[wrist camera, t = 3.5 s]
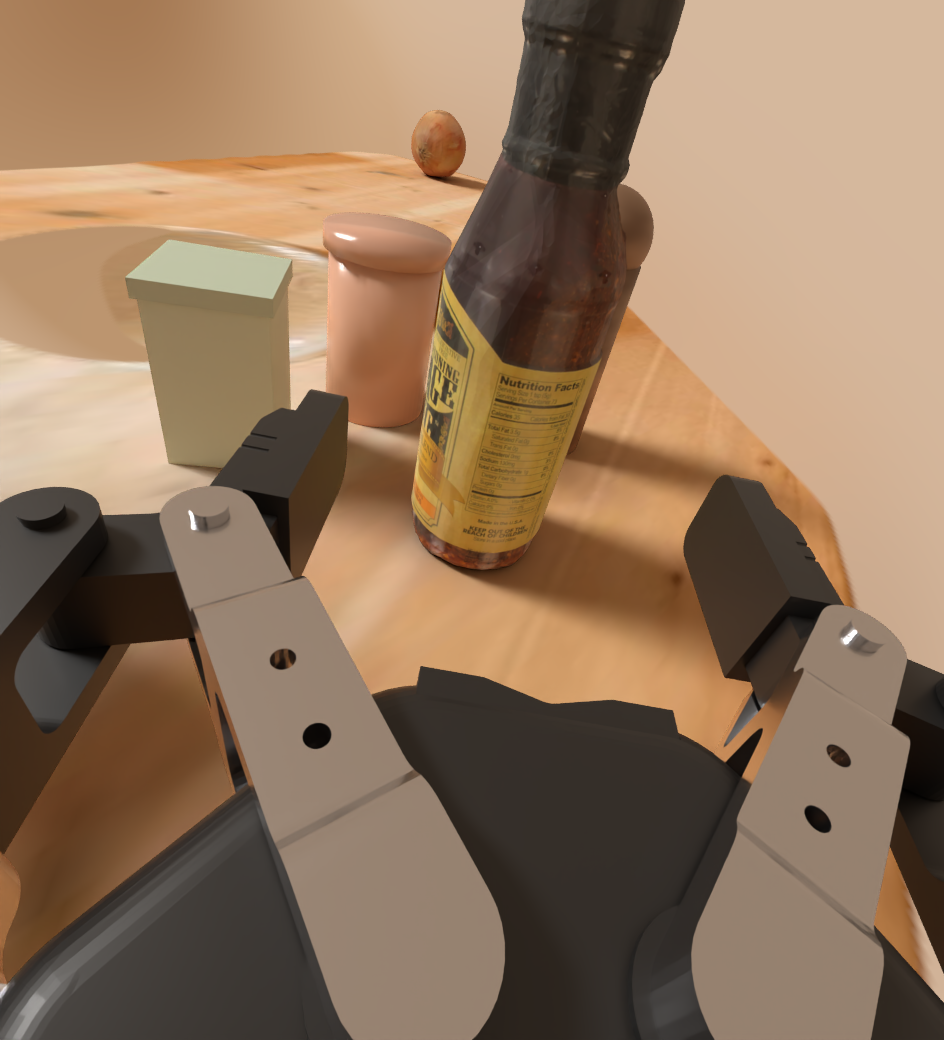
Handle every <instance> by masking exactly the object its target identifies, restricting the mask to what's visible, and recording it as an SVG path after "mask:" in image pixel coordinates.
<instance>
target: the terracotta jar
mask: <svg viewBox="0 0 944 1040" xmlns="http://www.w3.org/2000/svg"><path fill="white" fill-rule="evenodd" d="M323 245H324V246H325V248H326V249H327V250H328V251H329V266H328V314H327V361H326V392H327V393H332V394H337V395H342V396H347V397H348V402H349V413H348V421H350V422H353V423H356V424H359V425H364V426H370V427H383V428H385V427H397V426H402V425H405V424H408V423H410V422H412V421H414V420H415V419H417V418H418V417H419V415H420V414H421V411H422V404H423V397H424V390H425V383H426V377H427V370H428V363H429V356H430V349H431V342H432V335H433V328H434V321H435V314H436V307H437V300H438V293H439V287H440V280H441V273H442V270H443V269H445V264H446V262H447V260H448V258H449V256H450V250H451V240H450V239H449V238H448V237H447V236H446V235H444V234H443V233H441V232H439V231H437V230H435V229H433V228H430V227H428V226H425V225H422V224H419V223H416V222H413V221H409V220H405V219H401V218H396V217H391V216H385V215H379V214H371V213H356V212H348V213H337V214H332V215H329V216H327V217H325V218H324V220H323Z"/></svg>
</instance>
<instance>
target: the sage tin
mask: <svg viewBox="0 0 944 1040" xmlns="http://www.w3.org/2000/svg"><path fill="white" fill-rule="evenodd" d="M291 279H292V259H286V258H280V257H274V256H268V255H262V254H255V253H249V252H243V251H237V250H231V249H225V248H218V247H212V246H206V245H200V244H194V243H187V242H181V241H175V240H168V241H167V242H166V243H164V244H163V245H162V246H161V247H160V248H159V249H157V250H156V251H155V252H154V253H153V254H152V255H150V256H149V257H148V258H147V259H146V260H145V261H143V262H142V263H141V264H140V265H139V266H138V267H136V268H135V269H134V270H133V271H132V272H131V273H129V274H128V275H127V276H126V277H125V280H126V285H127V290H128V295H129V298H131V299H137V302H138V307H139V312H140V317H141V322H142V327H143V333H144V338H145V343H146V348H147V353H148V359H149V364H150V369H151V374H152V379H153V384H154V390H155V395H156V400H157V405H158V410H159V415H160V421H161V426H162V431H163V436H164V441H165V447H166V452H167V457H168V462H169V463H171V464H183V465H194V466H205V467H216V468H224V466H225V465H226V464H227V462H228V461H229V460H230V459H231V457H232V456H233V455H234V453H235V452H236V451H237V449H238V448H239V447H241V444H242V443H243V441H244V440H245V439H246V437H247V436H248V435H250V432H251V431H252V430H253V428H254V427H255V426H256V424H257V423H258V422H259V420H260V419H261V418H262V417H264V416H266V415H268V414H270V413H272V412H274V411H276V410H278V409H279V408H285V409H290V410H291V404H290V361H289V318H288V286H289V283H290V281H291Z"/></svg>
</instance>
